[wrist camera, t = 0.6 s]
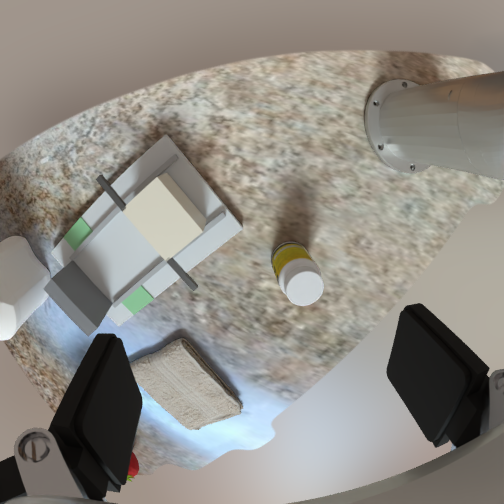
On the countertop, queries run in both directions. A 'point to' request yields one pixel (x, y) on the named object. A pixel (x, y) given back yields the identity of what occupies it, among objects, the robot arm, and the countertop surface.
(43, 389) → the countertop surface
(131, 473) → the strawberry
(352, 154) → the countertop surface
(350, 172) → the countertop surface
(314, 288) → the supplement bottle
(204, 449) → the countertop surface
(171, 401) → the washcloth
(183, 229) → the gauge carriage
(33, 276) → the jar
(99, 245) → the board
